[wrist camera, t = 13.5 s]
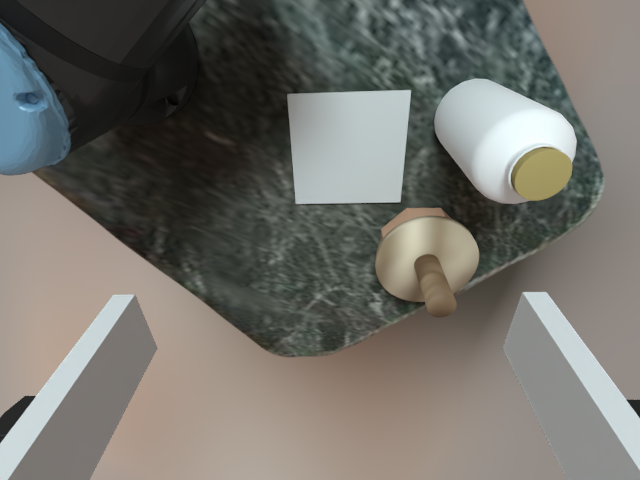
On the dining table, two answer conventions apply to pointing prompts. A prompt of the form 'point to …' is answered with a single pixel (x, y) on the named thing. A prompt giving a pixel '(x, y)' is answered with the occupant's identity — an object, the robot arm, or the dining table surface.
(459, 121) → the white bottle
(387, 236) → the lid
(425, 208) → the bowl
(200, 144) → the dining table surface
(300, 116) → the mat
